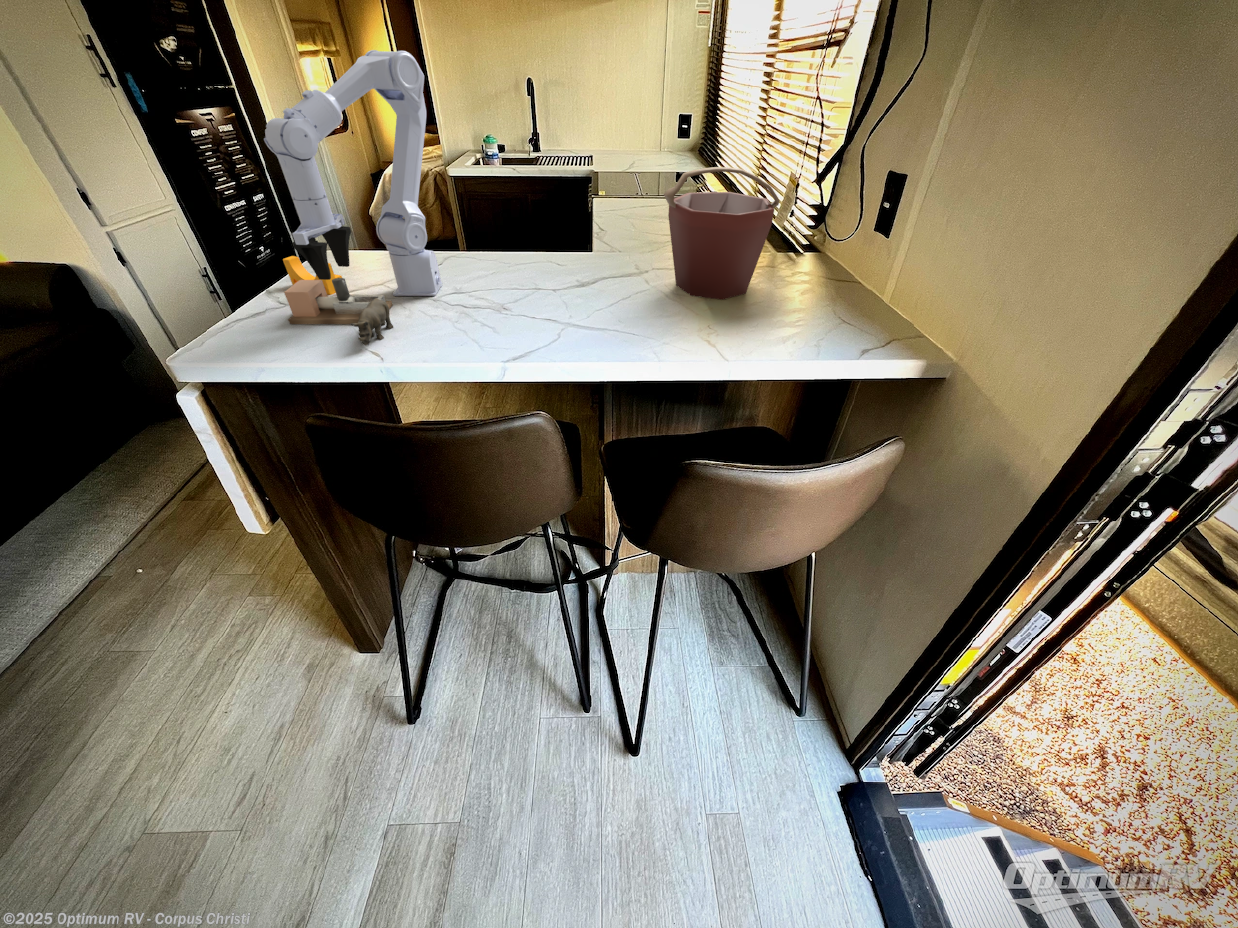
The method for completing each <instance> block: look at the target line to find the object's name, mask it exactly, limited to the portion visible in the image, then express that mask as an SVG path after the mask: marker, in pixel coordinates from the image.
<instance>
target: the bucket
mask: <svg viewBox="0 0 1238 928" xmlns="http://www.w3.org/2000/svg"><path fill="white" fill-rule="evenodd" d="M717 172H718V173H721V172H722V173H734V174H740V175H742V176H744V177H747V178H749V179H751V180H753V181H755V182H756V183H758V184H759V185H761V186H762V187H763V188H766V189H767V191H768V192H769V193H770V194H771V196H772V198H773V200H774V201H772V202H770V201H769V199H768V198H765V197H759V196H755V195H754V196H753V195H749V194H742V193H736V192H732V191H714V192H713V191H711V192H710V191H706V192H705V191H702V192H687V193H684V194H682V195H679V196H678V197H677V196H676V195H677V194H678V193H679V192H680V190H681V189H682V187H684V184H685V183H686V181H687V179H688V178H691V177H694V176H699V175H703V174H704V175H705V174H710V173H717ZM663 196H664V198H665V201H666V202H667V204H668V222H669V223H668V224H669V233H670V242H671V243H670V244H671V250H672V260H673V261H672V262H673V271H674V277H675V286H677V287H678V288H679V289H680V290H682V291H683V292H684V293H686V294H688V296H691V297H696V298H697V297H698V298H705V299H706V298H707V299H714V300H721V301H722V300H727V299H730V298H735V297H738V296H741V295H744V294H747V293H748V292H747V291H748V289H749V286H750V283H751V281H752V279H753V278H752V277H753V276H754V273H755V270H756V267H757V264H758V261H759V259H760V257H761V254H762V251H763V249H764V246H765V244H766V240H767V238H768V235H769V233H770V231H771V227H772V225H773V219H774V213H775V208H777V206H779V204H780V199H779V197H778V195H777V194H776V192H775V190H774V189H773V187H771V185H770V184H769V183H767V182H766V181H764V180H762V178H760V177H759V176H757V175H754V174H753V173H750V172H749V171H747V170H744V169H742V168H737V167H727V166H726V167H725V166H714V167H712V166H711V167H703V168H699V169H693V170H689V171H685V172H683V173H682V175H681V176H680V178H679V179H678V181H677V182H676V184H675V185H674V186H673V187H669V188H668V189H667V190H666V191H665V192H664V193H663ZM675 196H676V197H675Z"/></svg>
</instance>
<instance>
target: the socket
mask: <svg viewBox="0 0 1238 928" xmlns="http://www.w3.org/2000/svg"><path fill="white" fill-rule="evenodd" d="M283 293H284V295H285V298H286V301H287V303H288V306H289V308H290V310H291V313H292V315H293V316H294V317H300V316H317V315H318V314H319V313H320V310H319V307H318V304H317V302H316V299H315V298H316V297H329V295H328V294H327V293H326V290H325V287H324V284H323V282H322V280H299V281H298V282H296V283H295V284H294V285H291V286H290V287H289V288H288V289H286V290H285V291H283Z"/></svg>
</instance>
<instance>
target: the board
mask: <svg viewBox="0 0 1238 928" xmlns="http://www.w3.org/2000/svg"><path fill="white" fill-rule="evenodd" d="M385 301H386V303H387V305H388V307H389V310H390V309H391V308H392V307H393V305H394V304H393V302H392V300H385ZM319 310H320V313H319V314H318V315H317V316H300V317H294V316H293V314H292V315H291V316H290V317H289V318H288V319H287V321H288V323H289V325H351V323H358V320H359V316H360V314H336V312H335V309H319Z"/></svg>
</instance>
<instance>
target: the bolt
mask: <svg viewBox="0 0 1238 928" xmlns="http://www.w3.org/2000/svg"><path fill="white" fill-rule="evenodd" d="M332 283H333V286H334V289H335V292H336V293H335V294H336V296H328V297H316V298H315V299H316V302H317V304H318V307H319V309H334V306H333V303H334V302H355V300H354V298H353V297H350V295H351V294H350V291H349V287H348V285H347V282H346V279H345V278H344V277H342V278H336V279H333V280H332Z"/></svg>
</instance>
